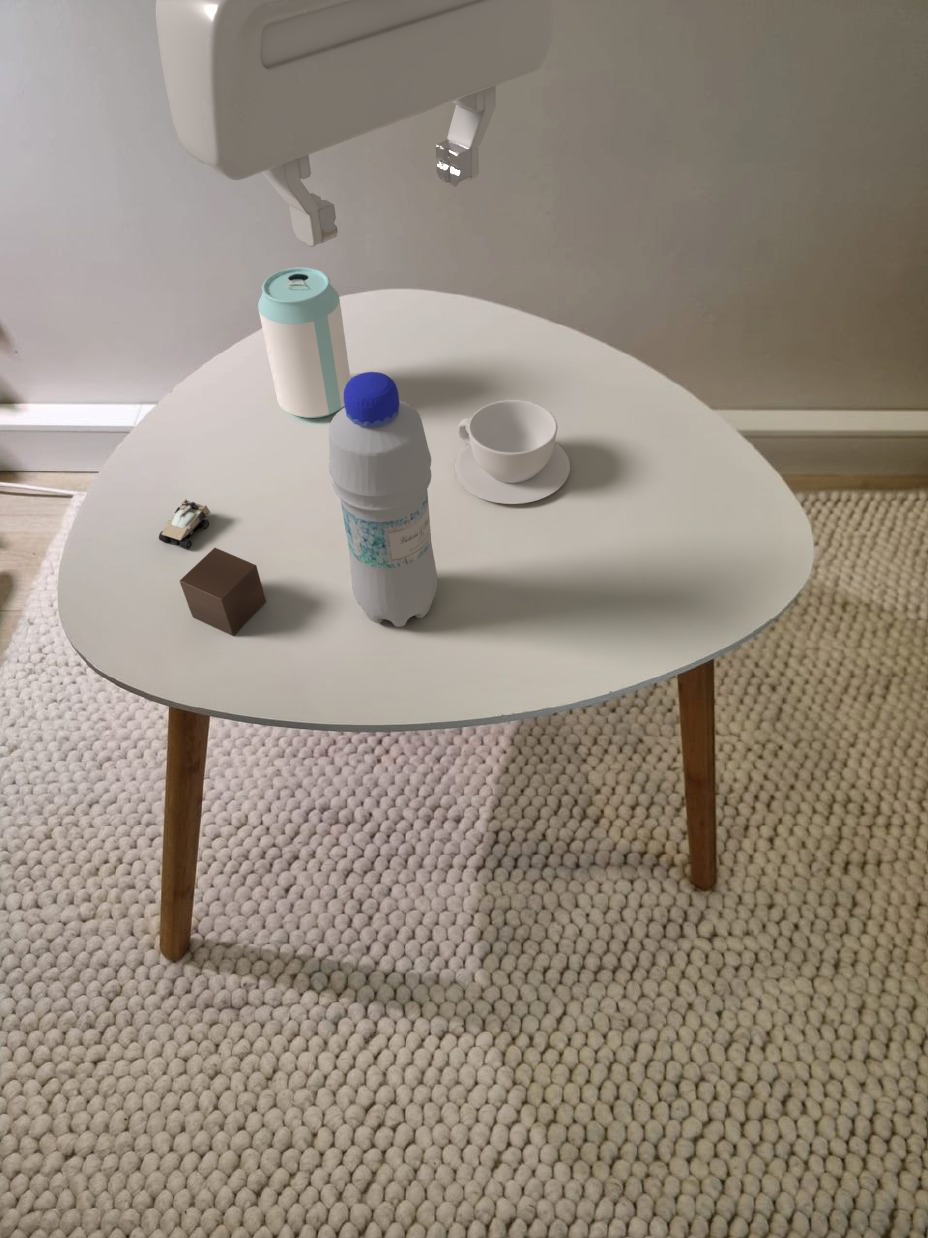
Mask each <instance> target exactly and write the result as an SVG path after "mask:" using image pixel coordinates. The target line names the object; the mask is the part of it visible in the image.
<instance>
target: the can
mask: <svg viewBox="0 0 928 1238" xmlns="http://www.w3.org/2000/svg"><path fill="white" fill-rule="evenodd" d="M330 281H331V280H330V278H329V276H328V275H327V274H326V273H325V272H323V271H321V270H319V269H316V268H312V267H303V266H302V267H290V268H285V269H281V270H279V271H277V272H274V273H272V274H271V275H269V276H268V277H267V278H266V279H265V280H264V281H263V283H262V285H261V291H262V293H261V296H260V298H259V299H258V303H257V310H258V313H259V318H260V319H259V320H260V323H261V328H262V333H263V337H264V343H265V348H266V351H267V357H268V362H269V366H270V371H271V376H272V381H273V386H274V390H275V394H276V399H277V403H278V405H279V407H280V408H281V409H282V410H283V411H285V412H286V413H288V414H290V415H292V416H294V417H295V416H296V417H300V418H304V419H321V418H324V417H328V416H330V415H333V414H336V413H337V412H339V411H340V410H341V409H343V408H344V407H345V404H344V389H345V387H346V384H347V383H348V382H349V380H350V379H352V378H351V372H350V363H349V357H348V349H347V344H346V343H347V342H346V336H345V328H344V322H343V321H344V320H343V314H342V306H341V300H340V295H339V292H338V291H337V290H336V289H335V288H334V287H333V285H331V282H330Z"/></svg>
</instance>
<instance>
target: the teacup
mask: <svg viewBox="0 0 928 1238" xmlns="http://www.w3.org/2000/svg"><path fill="white" fill-rule="evenodd" d="M467 430H468V431H467ZM457 433H458V436H459V438H460V439H461V441H463V442H464V443H465V445H464V446H462V448H461V449H460V450H459V452H458V453H457V455H456V457H455V459H454V466H453V467H454V475H455V477H456V480H457V481H458V483H459V484H460V485H461V486H462V488H464V490H466V491H467V492H469V493H470V494H472V495H473V496H475V497H477V498H479V499H481V500H485V501H488V502H490V503H497V504H504V505H505V504H506V505H518V504H519V505H521V504H528V503H532V502H535V501H539V500H542V499H544V498H546V497H549V496H550V495H552V494H553V493H556V491H558V490H559V489H560V488H561V487H562V486H563V485H564V484H565V483H566V481H567V479H568V477H569V474H570V471H571V462H570V459H569V456H568V454H567V452H566V451H565V450H564V449H563V447H562V446H561V445H559V444H558V443H557V442H556V439H557V433H558V422H557V419H556V418H555V416H554V415H553V414H552V412H550V411H549V410H548V409H547V408H546V407H544V406H542V405H540V404H538V403H535V402H532V401H528V400H524V399H523V400H522V399H505V400H498V401H494V402H491V403H488V404H486V405H484V406H482V407H480V408H479V409H478V410H477V411H475V412H474V413H473V414H472V416H471V417H465V418H463V419H462V420H460V422H459V423H458V426H457Z"/></svg>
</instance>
